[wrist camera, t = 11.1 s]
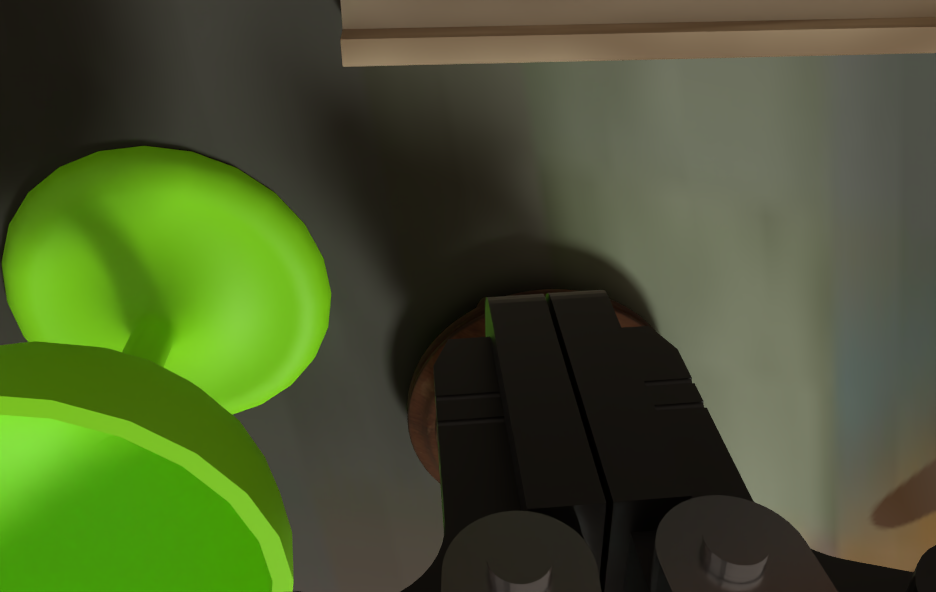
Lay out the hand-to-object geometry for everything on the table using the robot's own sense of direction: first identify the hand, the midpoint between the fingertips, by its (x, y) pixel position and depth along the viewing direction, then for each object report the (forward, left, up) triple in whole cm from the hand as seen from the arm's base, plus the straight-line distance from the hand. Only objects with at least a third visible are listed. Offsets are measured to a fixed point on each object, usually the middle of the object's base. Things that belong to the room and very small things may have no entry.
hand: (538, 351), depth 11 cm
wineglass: (+16, -14, -28) cm, 35 cm away
